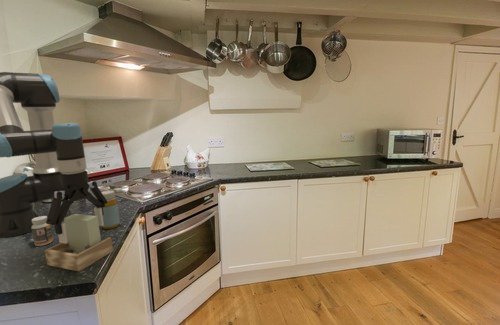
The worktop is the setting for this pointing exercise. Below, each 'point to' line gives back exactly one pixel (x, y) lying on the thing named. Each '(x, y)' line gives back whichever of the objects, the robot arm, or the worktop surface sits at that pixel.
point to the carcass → (77, 255)
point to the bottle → (110, 211)
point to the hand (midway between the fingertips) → (83, 233)
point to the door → (82, 232)
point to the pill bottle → (41, 231)
